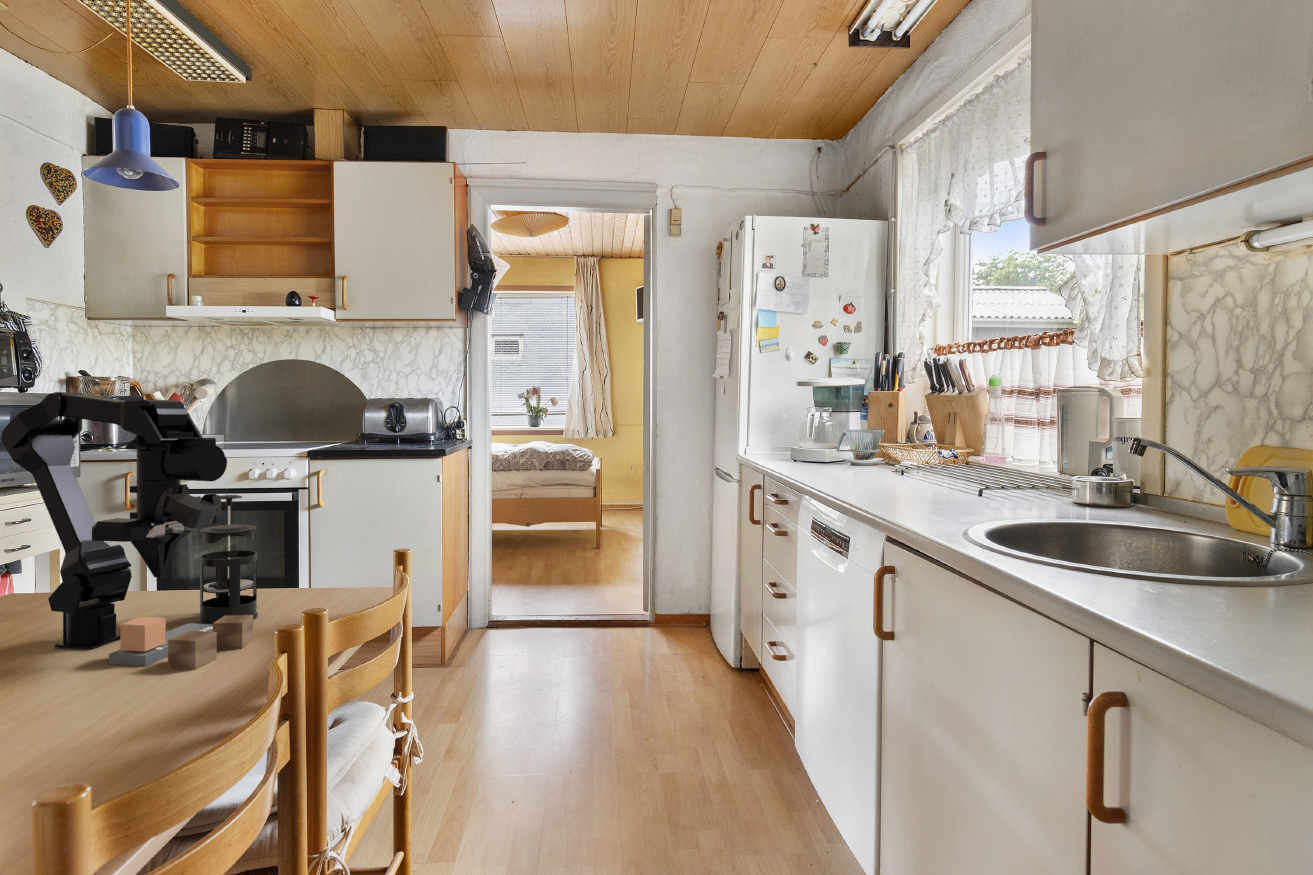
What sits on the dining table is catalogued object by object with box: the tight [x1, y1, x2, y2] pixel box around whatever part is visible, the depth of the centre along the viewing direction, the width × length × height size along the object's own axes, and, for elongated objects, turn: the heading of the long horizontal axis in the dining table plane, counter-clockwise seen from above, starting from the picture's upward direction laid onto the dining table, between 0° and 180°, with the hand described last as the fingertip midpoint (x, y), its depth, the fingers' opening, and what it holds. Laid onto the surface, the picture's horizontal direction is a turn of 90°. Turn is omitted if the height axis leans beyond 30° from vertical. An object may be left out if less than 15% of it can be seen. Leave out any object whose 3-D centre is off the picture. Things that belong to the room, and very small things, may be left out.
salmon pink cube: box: [119, 616, 167, 652], centre depth 110 cm, size 4×4×4 cm
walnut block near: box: [167, 631, 218, 671], centre depth 108 cm, size 4×4×4 cm
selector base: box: [108, 622, 213, 667], centre depth 115 cm, size 6×16×2 cm, turn 175°
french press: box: [198, 494, 259, 625], centre depth 131 cm, size 12×9×23 cm
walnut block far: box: [213, 615, 254, 651], centre depth 117 cm, size 4×4×4 cm
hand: (158, 576), depth 112 cm, fingers closed
